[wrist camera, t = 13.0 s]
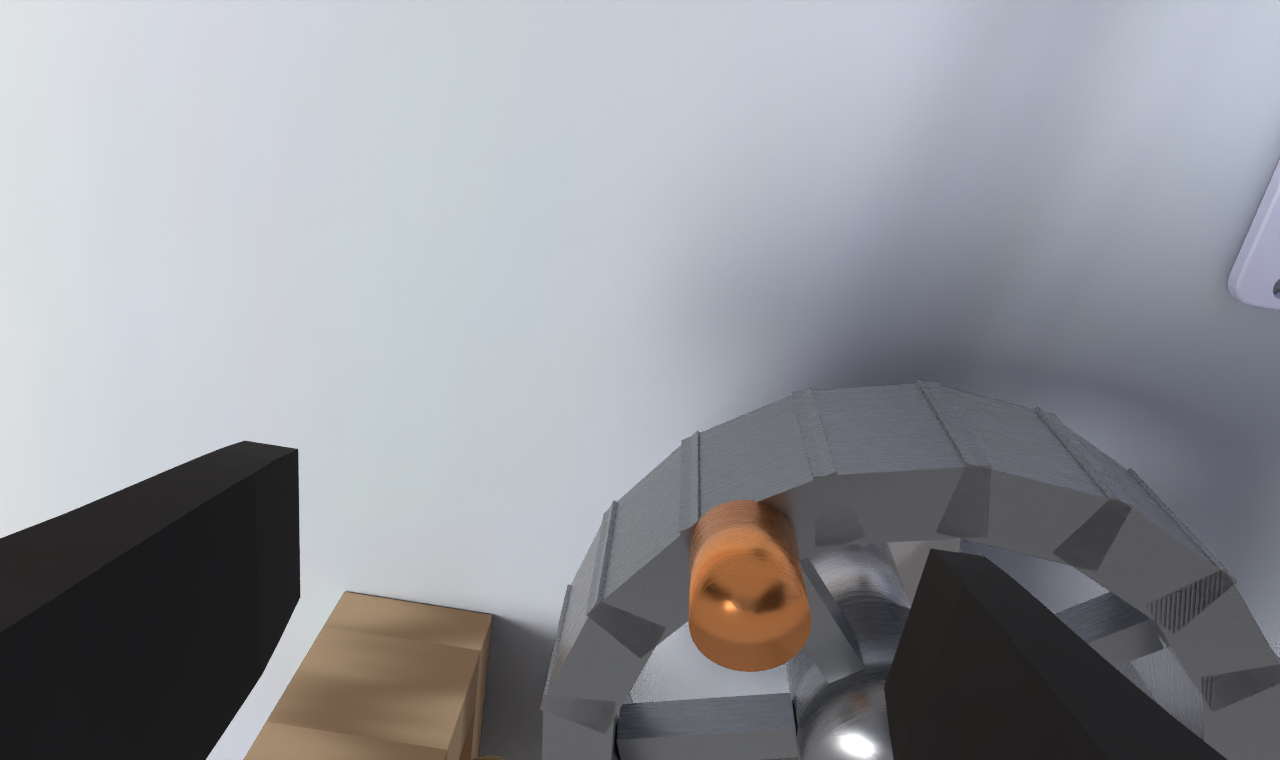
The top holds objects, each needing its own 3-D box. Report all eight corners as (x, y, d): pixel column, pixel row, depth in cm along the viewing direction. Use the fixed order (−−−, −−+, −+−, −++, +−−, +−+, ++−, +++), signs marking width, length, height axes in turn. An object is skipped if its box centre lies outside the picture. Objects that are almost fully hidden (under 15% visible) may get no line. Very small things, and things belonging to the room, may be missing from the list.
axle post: (989, 451, 20) (1061, 560, 16) (919, 651, 23) (967, 788, 19) (737, 412, 20) (747, 511, 16) (694, 615, 23) (694, 746, 19)
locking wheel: (1070, 866, 19) (1179, 1119, 15) (526, 741, 19) (476, 964, 15) (1323, 479, 15) (1574, 668, 11) (640, 306, 15) (616, 431, 10)
